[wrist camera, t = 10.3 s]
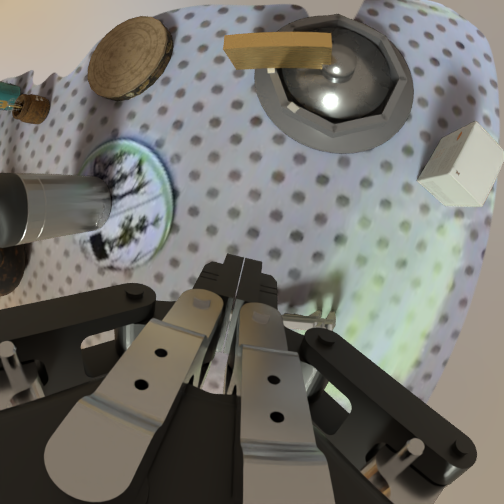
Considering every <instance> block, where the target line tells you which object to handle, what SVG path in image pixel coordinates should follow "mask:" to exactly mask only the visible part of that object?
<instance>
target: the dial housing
mask: <svg viewBox="0 0 504 504" xmlns="http://www.w3.org/2000/svg"><path fill="white" fill-rule="evenodd" d="M319 28H341V29H345V30H349V31H352V32H355V33H357V34H359V35H361V36H363V37H364V38H366V39H367V40H369V41H370V42H371V43H372V44H373V45H375V46H376V47H377V49H378V50H379V51H380V52H381V54H382V55H383V57H384V58H385V60H386V62H387V65H388V68H389V72H390V86H389V90H388V93H387V95H386V97H385V99H384V100H383V102H382V103H381V104H380V106H379V107H378V108H377V109H376V110H375V111H374V112H373V113H371V114H370V115H368V116H367V117H365V118H361V119H356V120H351V121H347V122H333V121H328V120H325V119H323V118H321V117H319V116H317V115H315V114H313V113H311V112H309V111H307V110H305V109H303V108H301V107H300V106H299V105H298V104H297V103H296V102H295V101H294V100H293V98H292V97H291V95H290V94H289V92H288V90H287V87H286V85H285V81H284V77H283V73H282V68H262V69H255V77H254V79H255V88H256V92H257V95H258V98H259V100H260V103H261V105H262V107H263V109H264V110H265V112H266V114H267V115H268V117H269V118H270V119H271V120H272V122H273V123H274V124H275V125H276V126H277V127H278V128H279V129H280V130H281V131H282V132H284V133H285V134H286V135H288V136H289V137H290V138H292V139H294V140H295V141H297V142H299V143H301V144H303V145H305V146H308V147H310V148H313V149H316V150H319V151H324V152H329V153H339V154H346V153H357V152H363V151H366V150H370V149H373V148H375V147H377V146H379V145H381V144H383V143H385V142H386V141H388V140H389V139H390V138H392V137H393V136H394V135H395V134H396V133H397V132H398V131H399V130H400V129H401V128H402V126H403V125H404V124H405V122H406V120H407V118H408V116H409V114H410V111H411V108H412V103H413V94H414V89H413V81H412V77H411V73H410V71H409V68H408V66H407V63H406V62H405V60H404V58H403V56H402V55H401V54H400V52H399V51H398V49H397V48H396V47H395V46H394V45H393V44H392V43H391V42H390V41H389V40H388V39H387V37H386V36H385V35H383V34H381V33H379V32H378V31H376V30H375V29H373V28H371V27H369V26H368V25H366V24H363V23H361V22H358V21H356V20H352V19H349V18H346V17H345V16H342V15H340V14H334V15H328V16H314V17H307V18H303V19H300V20H297V21H294V22H292V23H289V24H288V25H286V26H284V27H283V28H281V29H280V30H278V31H277V32H308V31H311V30H314V29H319Z"/></svg>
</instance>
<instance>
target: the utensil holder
mask: <svg viewBox="0 0 504 504" xmlns="http://www.w3.org/2000/svg"><path fill="white" fill-rule="evenodd" d="M9 101H10V102H11V101H13V100H11V99H10V100H9ZM0 102H3V104H2V103H0V105H2V107H1V106H0V108H4V109H5V108H6V107H8V106H9V107H10V106H11V107H13V108H12V110H13V111H12V114H13V117H14V118H15V119H20V120H21V121H22V122H26V123H31V124H40V123H42V122H43V121H44V120H45V118H46V117H47V115H48V112H49V108H50V103H49V100H48V99H47V98H44V97H41V96H37V95H33V94H30V95H27V94H21V95H20V96H19V97H18V98H17V99H16V100H15V103H14V105H9V103H7V101H3V100H0ZM8 109H9V108H8ZM10 111H11V110H10Z"/></svg>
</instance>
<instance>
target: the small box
mask: <svg viewBox="0 0 504 504" xmlns="http://www.w3.org/2000/svg"><path fill="white" fill-rule="evenodd" d="M503 162H504V150H503V149H502V148H501V147H500V145H499V144H498V143H497V142H496V141H495V140H494V139H493V138H492V137H491V136H490V135H489V134H488V132H487V131H486V130H485V129H484V128H483V127H482V126H481V125H480V124H479V123H478V122H477V121H474V122H472V123H470V124H468V125H466V126H464V127H462V128H461V129H459V130H457V131H455V132H453V133H451V134H449V135H447V136H445V137H443V138H441V140H440V142H439V144H438V146H437V147H436V149H435V151H434V153H433V154H432V156H431V158H430V159H429V161H428V163H427V164H426V166H425V168H424V170H423V171H422V173H421V175H420V176H419V178H418V179H417V182H418V183H419V184H421V185H422V186H423V187H424V188H425V189H426V190H427V191H429V192H430V193H431V194H432V195H433V196H434V197H435V198H436V199H437V200H438V201H439V202H441V203H442V204H443V205H444V206H467V207H482V206H483V204H484V202H485V200H486V199H487V197H488V195H489V193H490V191H491V189H492V186H493V184H494V182H495V180H496V178H497V176H498V174H499V171H500V169H501V167H502V165H503Z"/></svg>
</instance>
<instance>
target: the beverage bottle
mask: <svg viewBox="0 0 504 504" xmlns="http://www.w3.org/2000/svg"><path fill="white" fill-rule="evenodd" d="M19 96H20V87H18V86H17V85H13V84H11V83H9V84H8V83H3V82H2V81H1V82H0V100H3V101H7V103H9V105H14V103H15V100H16V99H17V98H18V97H19ZM10 99H11V100H13V101H11V102H10V101H9V100H10ZM0 103H2V104H3V102H0ZM0 106H1V107H2V105H0ZM8 108H9V109H8ZM12 108H13V107H11V106H10V107H9V106H8V107H6V108H5V109H4V108H0V109H1V110H2V109H4V110H6V111H7V110H12Z"/></svg>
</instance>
